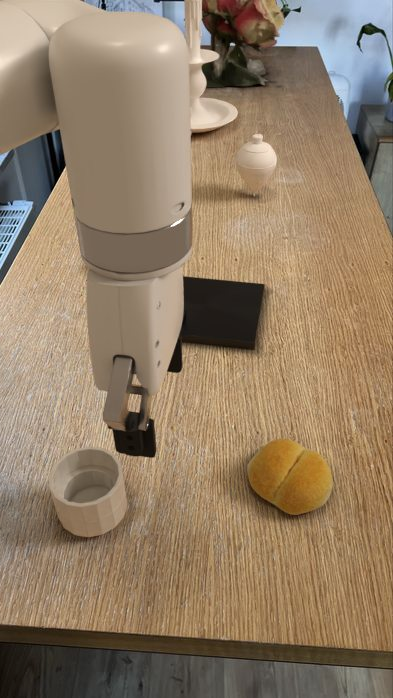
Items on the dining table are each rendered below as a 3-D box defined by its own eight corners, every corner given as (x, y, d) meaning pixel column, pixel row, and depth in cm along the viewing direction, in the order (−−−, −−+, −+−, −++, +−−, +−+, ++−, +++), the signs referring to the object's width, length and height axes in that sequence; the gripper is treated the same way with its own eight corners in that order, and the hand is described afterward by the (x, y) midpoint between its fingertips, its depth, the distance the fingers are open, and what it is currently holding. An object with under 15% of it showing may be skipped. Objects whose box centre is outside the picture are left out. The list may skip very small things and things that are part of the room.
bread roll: (308, 531, 60) (313, 509, 57) (236, 486, 64) (237, 464, 61) (345, 477, 65) (351, 454, 62) (276, 439, 69) (278, 416, 66)
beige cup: (48, 534, 60) (37, 500, 56) (72, 476, 65) (63, 442, 61) (116, 545, 59) (110, 511, 55) (135, 486, 64) (130, 451, 60)
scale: (141, 337, 83) (139, 321, 81) (163, 281, 93) (162, 265, 91) (254, 350, 81) (255, 333, 79) (264, 291, 91) (265, 275, 89)
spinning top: (226, 196, 114) (227, 135, 106) (252, 183, 118) (255, 124, 111) (256, 209, 110) (260, 147, 102) (281, 195, 114) (287, 134, 106)
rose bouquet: (283, 87, 162) (293, -43, 142) (177, 88, 162) (173, -41, 142) (272, 59, 181) (280, -58, 162) (178, 61, 181) (174, -56, 161)
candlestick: (142, 148, 132) (131, 7, 114) (159, 109, 151) (152, -18, 132) (233, 151, 130) (238, 8, 112) (239, 111, 149) (244, -18, 130)
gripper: (118, 169, 46) (136, 338, 57) (29, 302, 33) (75, 484, 44) (213, 176, 44) (212, 347, 56) (159, 317, 32) (172, 500, 43)
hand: (151, 407), depth 50 cm, fingers open, 9 cm apart
